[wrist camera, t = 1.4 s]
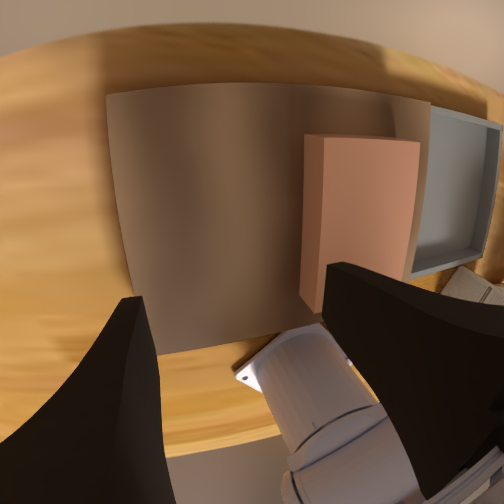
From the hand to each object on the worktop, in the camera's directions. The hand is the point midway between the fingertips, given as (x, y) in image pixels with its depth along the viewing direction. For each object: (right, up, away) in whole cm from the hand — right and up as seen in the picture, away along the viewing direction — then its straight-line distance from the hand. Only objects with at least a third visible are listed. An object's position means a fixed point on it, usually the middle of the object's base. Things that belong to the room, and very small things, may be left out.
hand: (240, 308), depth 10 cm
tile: (+6, +4, +8) cm, 10 cm away
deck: (+2, +5, +10) cm, 12 cm away
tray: (+17, +7, +14) cm, 23 cm away
